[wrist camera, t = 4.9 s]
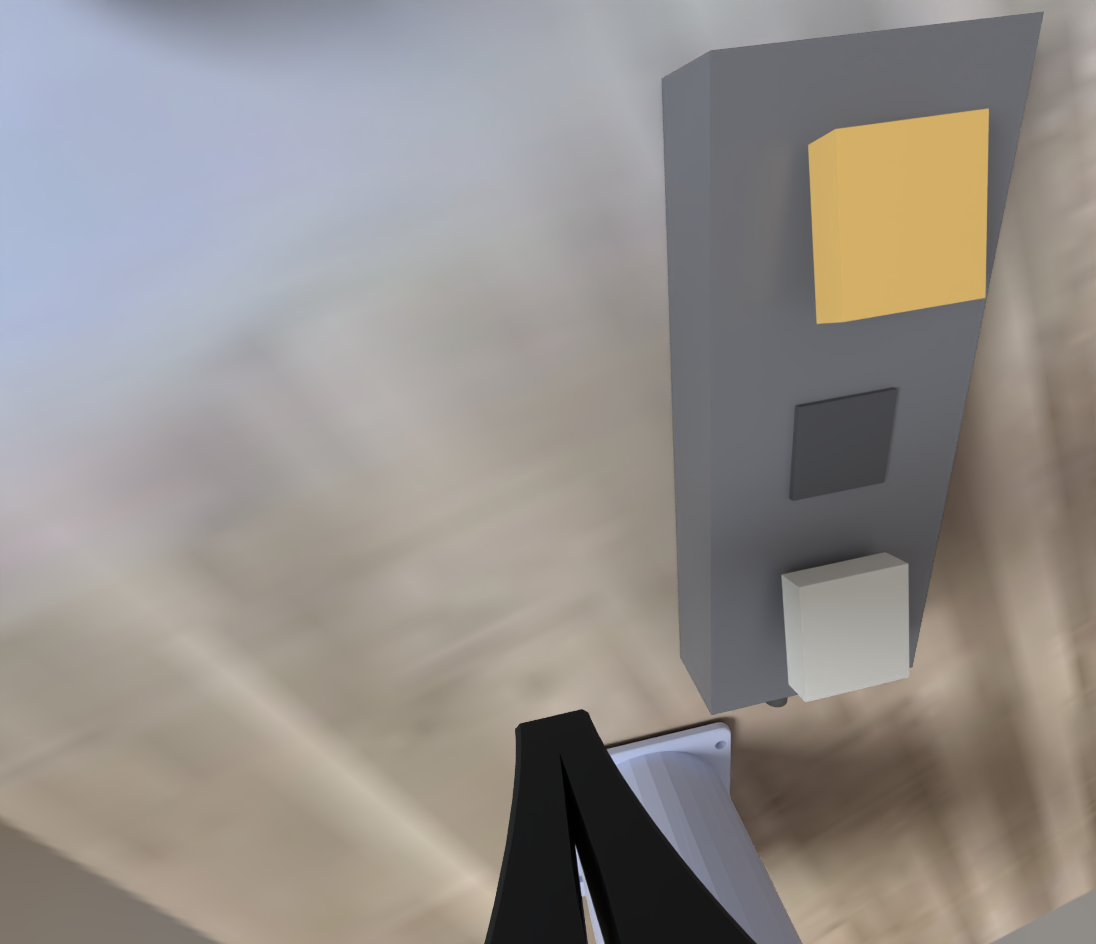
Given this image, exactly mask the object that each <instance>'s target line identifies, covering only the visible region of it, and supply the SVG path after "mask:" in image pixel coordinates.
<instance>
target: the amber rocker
mask: <svg viewBox="0 0 1096 944" xmlns="http://www.w3.org/2000/svg"><path fill="white" fill-rule="evenodd" d="M988 132H989V108H988V109H981V110H973V111H966V112H959V113H951V114H944V115H936V116H929V117H921V118H914V119H906V120H899V121H892V122H884V123H877V124H869V125H862V126H854V127H847V128H839V129H835V130H833V131H831V132H829V133H828V134H826V135H824V136H823V137H821V138H819V139H817V140H816V141H814V142H812V143H811V144H809V145H808V152H809V173H810V194H811V215H812V236H813V257H814V278H815V299H816V320H817V324H822V323H839V322H847V321H853V320H859V319H865V318H870V317H876V316H882V315H888V314H894V313H900V312H906V311H911V310H917V309H923V308H929V307H935V306H941V305H947V304H952V303H958V302H964V301H970V300H976V299H982V298H985V294H986V240H987V186H988Z"/></svg>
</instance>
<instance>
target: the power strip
mask: <svg viewBox="0 0 1096 944" xmlns="http://www.w3.org/2000/svg"><path fill="white" fill-rule="evenodd" d="M1043 14H1044V12H1037V13H1028V14H1020V15H1011V16H1003V17H994V18H985V19H977V20H968V21H960V22H951V23H943V24H934V25H925V26H917V27H908V28H900V29H891V30H883V31H874V32H866V33H857V34H848V35H840V36H831V37H823V38H814V39H806V40H797V41H788V42H780V43H771V44H763V45H754V46H746V47H737V48H728V49H720V50H711V51H709V52H707V53H705V54H704V55H702V56H700V57H698V58H697V59H695V60H693V61H691V62H690V63H688V64H686V65H685V66H683V67H681V68H679V69H678V70H676V71H674V72H672V73H671V74H669V75H667V76H665V77H664V78H662V101H663V132H664V163H665V194H666V225H667V256H668V287H669V318H670V349H671V380H672V411H673V442H674V473H675V504H676V535H677V566H678V597H679V628H680V658H681V659H682V661H683V663H684V665H685V667H686V669H687V671H688V672H689V674H690V676H691V678H692V680H693V682H694V684H695V686H696V687H697V689H698V691H699V693H700V695H701V697H702V699H703V700H704V702H705V704H706V706H707V708H708V710H709V712H710V713H711V715H714V714H718V713H722V712H727V711H731V710H735V709H739V708H743V707H747V706H752V705H756V704H760V703H764V702H766V703H767V704H768V705H770V706H773V707H782V706H784V705H785V704H786V703H787V698H788V697H789V696H794V695H798V694H797V693H796V692H795V691H794V689H793V688H792V687H791V686H790V685H789V683H788V668H787V653H786V638H785V623H784V607H783V592H782V577H781V575H782V574H786V573H791V572H796V571H800V570H805V569H810V568H814V567H819V566H823V565H828V564H833V563H837V562H842V561H847V560H851V559H856V558H861V557H865V556H870V555H874V554H879V553H884V552H886V553H888V554H890V555H892V556H894V557H896V558H898V559H900V560H902V561H904V562H906V563H908V580H909V668H911V667H913V662H914V657H915V652H916V647H917V642H918V637H919V632H920V627H921V622H922V617H923V612H924V607H925V602H926V597H927V592H928V587H929V582H930V577H931V572H932V567H933V562H934V557H935V552H936V547H937V542H938V537H939V532H940V527H941V522H942V517H943V512H944V507H945V502H946V497H947V492H948V487H949V482H950V477H951V472H952V467H953V462H954V457H955V452H956V447H957V442H958V437H959V432H960V427H961V422H962V417H963V412H964V407H965V402H966V397H967V392H968V387H969V382H970V377H971V372H972V367H973V362H974V357H975V353H976V348H977V343H978V338H979V333H980V328H981V323H982V318H983V313H984V308H985V303H986V298H987V293H988V288H989V283H990V278H991V273H992V268H993V263H994V258H995V253H996V248H997V243H998V238H999V233H1000V228H1001V223H1002V218H1003V213H1004V208H1005V203H1006V198H1007V193H1008V188H1009V183H1010V178H1011V173H1012V168H1013V163H1014V158H1015V153H1016V148H1017V143H1018V138H1019V133H1020V128H1021V123H1022V118H1023V113H1024V108H1025V103H1026V98H1027V93H1028V88H1029V83H1030V78H1031V73H1032V68H1033V63H1034V58H1035V53H1036V48H1037V43H1038V38H1039V33H1040V28H1041V23H1042V18H1043ZM988 108H989V132H988V186H987V240H986V294H985V298H982V299H976V300H970V301H964V302H958V303H952V304H947V305H941V306H935V307H929V308H923V309H917V310H911V311H906V312H900V313H894V314H888V315H882V316H876V317H870V318H865V319H859V320H853V321H847V322H839V323H822V324H817V320H816V299H815V278H814V257H813V236H812V215H811V194H810V173H809V152H808V145H809V144H811V143H812V142H814V141H816V140H817V139H819V138H821V137H823V136H824V135H826V134H828V133H829V132H831V131H833V130H835V129H839V128H847V127H854V126H862V125H869V124H877V123H884V122H892V121H899V120H906V119H914V118H921V117H929V116H936V115H944V114H951V113H959V112H966V111H973V110H981V109H988Z"/></svg>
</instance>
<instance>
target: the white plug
mask: <svg viewBox="0 0 1096 944" xmlns="http://www.w3.org/2000/svg"><path fill="white" fill-rule="evenodd" d="M781 577H782V592H783V607H784V623H785V638H786V653H787V668H788V683H789V685H790V686H791V687H792V688H793V689H794V691H795V692H796V693H797V694H798V695H799V696H800V697H801V698H802V699H803V700H804V701H805V702H809V701H813V700H817V699H821V698H825V697H830V696H834V695H838V694H842V693H846V692H850V691H855V690H859V689H863V688H867V687H871V686H875V685H880V684H884V683H888V682H892V681H896V680H900V679H904V678H909V580H908V563H906V562H904V561H902V560H900V559H898V558H896V557H894V556H892V555H890V554H888V553H886V552H884V553H879V554H874V555H870V556H865V557H861V558H856V559H851V560H847V561H842V562H837V563H833V564H828V565H823V566H819V567H814V568H810V569H805V570H800V571H796V572H791V573H786V574H782V575H781Z"/></svg>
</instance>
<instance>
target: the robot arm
mask: <svg viewBox="0 0 1096 944" xmlns="http://www.w3.org/2000/svg"><path fill="white" fill-rule="evenodd" d="M515 735H516V765H515V778H514V789H513V799H512V806H511V813H510V820H509V827H508V834H507V840H506V846H505V852H504V857H503V862H502V867H501V872H500V877H499V882H498V887H497V892H496V897H495V902H494V906H493V910H492V915H491V919H490V923H489V927H488V931H487V935H486V939H485V943H484V944H588V941H587V933H586V925H585V918H584V910H583V902H582V896H586V898H587V902H588V907H589V912H590V916H591V921H592V926H593V930H594V935H595V940H596V944H802V942H801V940H800V938H799V936H798V934H797V932H796V930H795V928H794V926H793V924H792V922H791V919H790V917H789V915H788V913H787V911H786V909H785V907H784V905H783V903H782V901H781V899H780V897H779V895H778V893H777V891H776V889H775V887H774V885H773V883H772V881H771V879H770V877H769V875H768V873H767V871H766V869H765V867H764V865H763V863H762V861H761V859H760V857H759V855H758V853H757V851H756V849H755V847H754V845H753V843H752V841H751V838H750V836H749V834H748V832H747V830H746V828H745V826H744V824H743V822H742V820H741V818H740V816H739V814H738V812H737V810H736V808H735V806H734V804H733V802H732V800H731V798H730V766H731V731H730V729H729V727H728V726H727V725H726V724H725V723H722V722H718V723H713V724H709V725H705V726H701V727H697V728H692V729H688V730H684V731H680V732H676V733H672V734H667V735H663V736H659V737H655V738H651V739H647V740H642V741H638V742H634V743H630V744H626V745H622V746H618V747H613V748H609V749H606V748H605V746H604V744H603V742H602V740H601V738H600V737H599V735H598V733H597V731H596V729H595V727H594V725H593V723H592V720H591V718H590V716H589V713H588V712H586V711H585V710H583V709H581V710H577V711H572V712H568V713H564V714H559V715H555V716H551V717H547V718H542V719H538V720H534V721H529V722H525V723H521V724H519V725H518V727H517V728H516V729H515Z"/></svg>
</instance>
